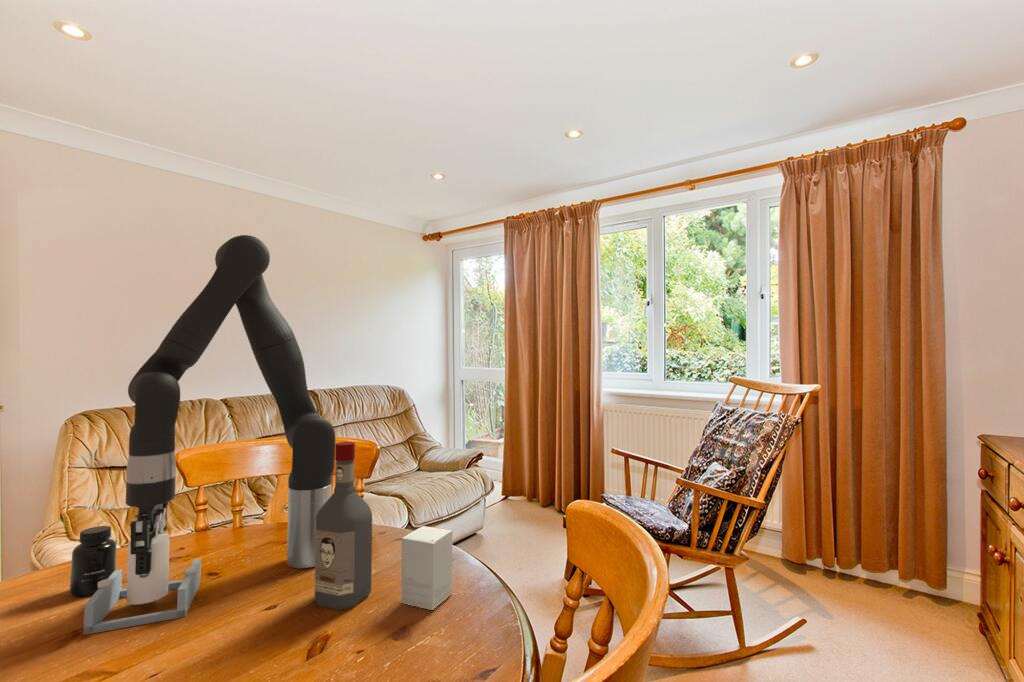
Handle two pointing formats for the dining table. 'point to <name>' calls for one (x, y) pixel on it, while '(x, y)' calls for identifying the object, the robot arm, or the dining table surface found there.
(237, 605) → the dining table surface
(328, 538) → the liquor
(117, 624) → the holder
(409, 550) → the supplement box
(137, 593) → the candle
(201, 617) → the dining table surface
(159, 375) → the robot arm
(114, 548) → the supplement bottle
